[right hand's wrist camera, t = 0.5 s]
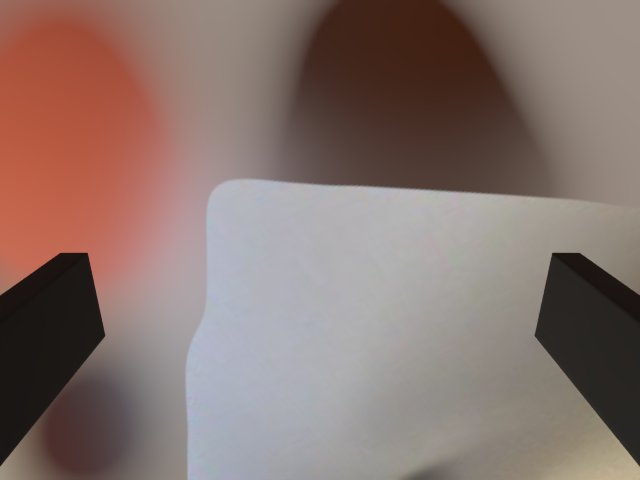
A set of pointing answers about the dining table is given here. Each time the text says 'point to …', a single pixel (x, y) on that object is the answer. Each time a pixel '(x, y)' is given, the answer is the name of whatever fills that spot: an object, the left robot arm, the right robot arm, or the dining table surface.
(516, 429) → the dining table surface
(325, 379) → the dining table surface
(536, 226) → the dining table surface
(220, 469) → the dining table surface
